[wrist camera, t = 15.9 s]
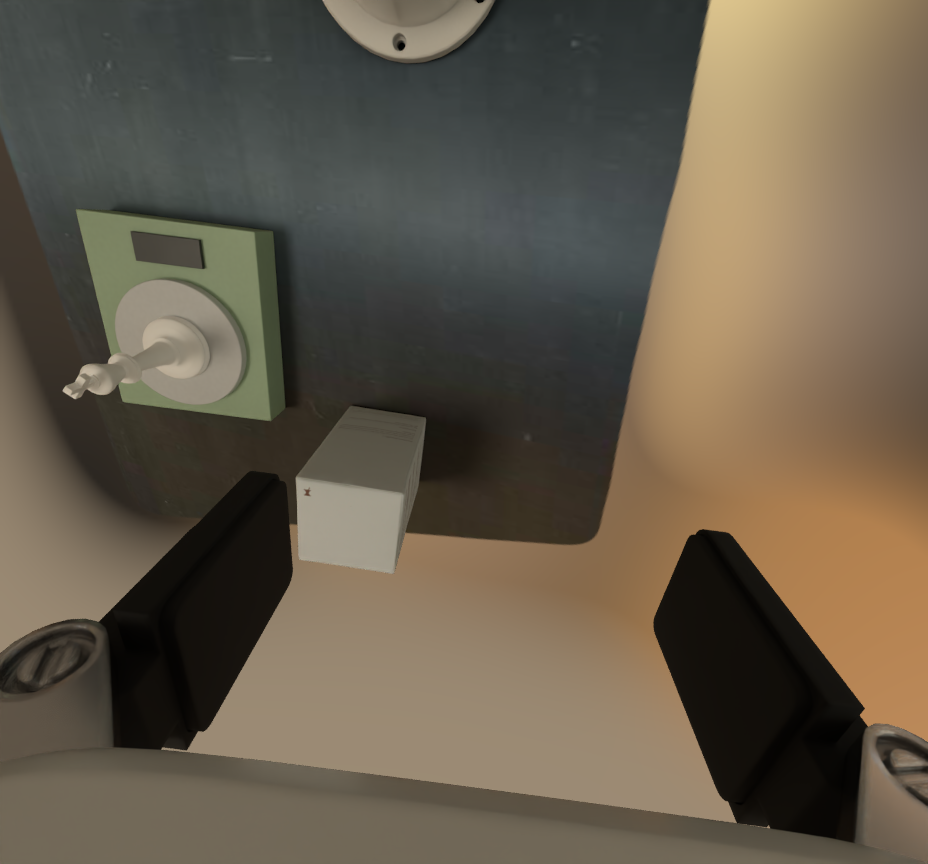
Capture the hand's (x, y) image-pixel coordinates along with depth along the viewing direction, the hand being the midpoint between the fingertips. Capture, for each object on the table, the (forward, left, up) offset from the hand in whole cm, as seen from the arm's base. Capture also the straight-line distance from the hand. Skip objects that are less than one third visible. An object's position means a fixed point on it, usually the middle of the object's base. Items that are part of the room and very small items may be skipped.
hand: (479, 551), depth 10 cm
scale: (+3, -24, -28) cm, 37 cm away
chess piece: (+5, -24, -25) cm, 35 cm away
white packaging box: (+13, -8, -28) cm, 32 cm away
